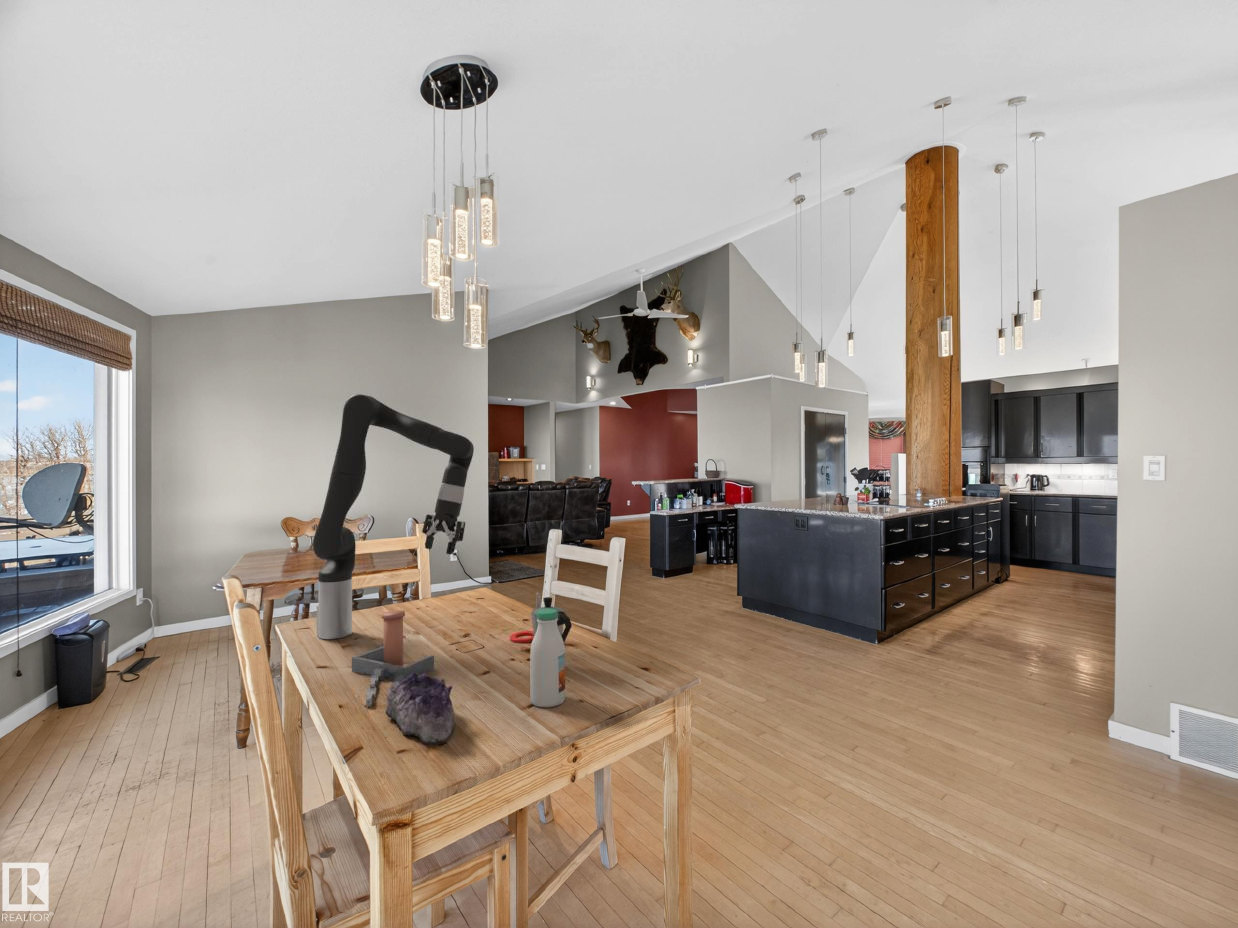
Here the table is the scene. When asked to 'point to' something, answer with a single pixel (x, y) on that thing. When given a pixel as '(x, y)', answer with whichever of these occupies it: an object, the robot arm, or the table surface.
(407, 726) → the geode
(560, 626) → the coffee maker
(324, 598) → the robot arm
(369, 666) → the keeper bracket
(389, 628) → the pin
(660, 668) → the table surface
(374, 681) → the chain
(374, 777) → the table surface
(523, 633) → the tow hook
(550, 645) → the milk bottle
